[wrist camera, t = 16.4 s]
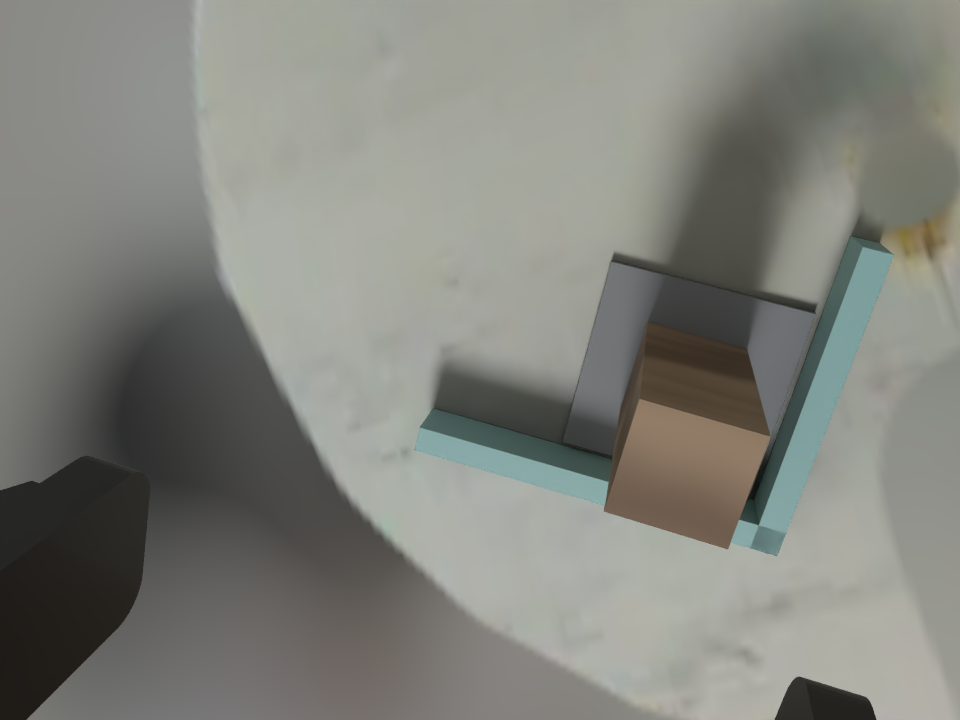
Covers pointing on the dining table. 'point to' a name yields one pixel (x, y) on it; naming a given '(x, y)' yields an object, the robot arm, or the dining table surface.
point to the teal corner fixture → (710, 314)
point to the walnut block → (687, 436)
